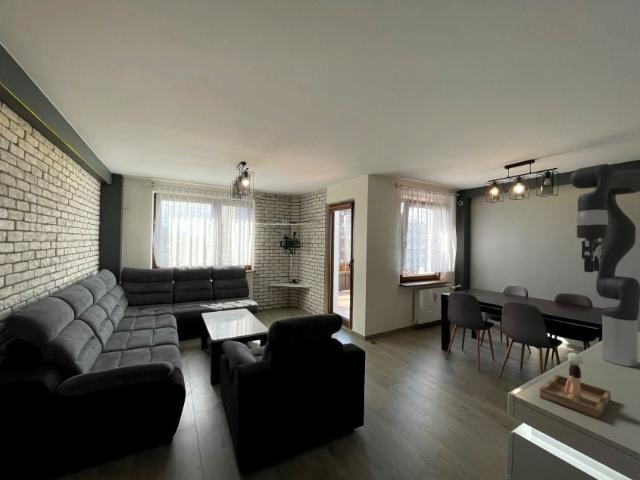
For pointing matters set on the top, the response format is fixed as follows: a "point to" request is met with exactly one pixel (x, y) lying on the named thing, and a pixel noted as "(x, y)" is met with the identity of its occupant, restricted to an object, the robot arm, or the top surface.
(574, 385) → the grandmother figurine
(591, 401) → the walnut tray
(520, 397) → the top surface
